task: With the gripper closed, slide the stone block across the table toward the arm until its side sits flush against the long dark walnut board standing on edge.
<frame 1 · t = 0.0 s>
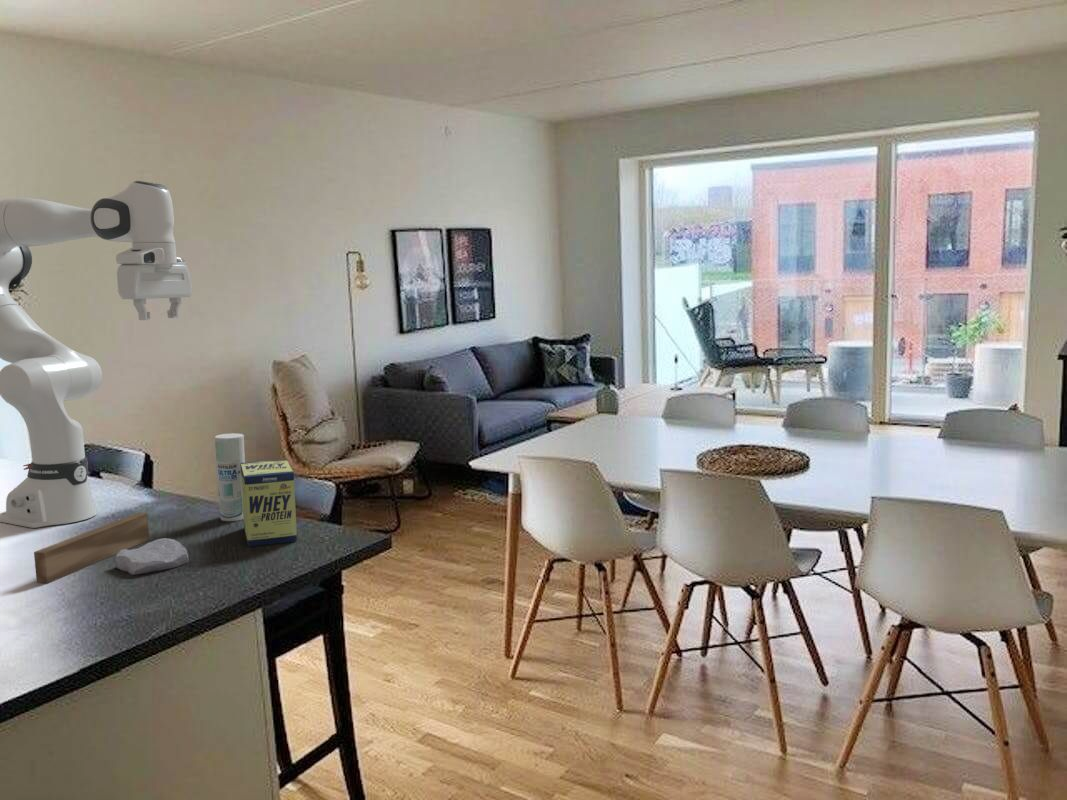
hand: (159, 319, 192), 48 cm above the countertop, tool pointing down, fingers open, 8 cm apart
spray can: (233, 518, 206), on the countertop
stone block: (155, 567, 173), on the countertop
walnut board: (97, 559, 176), on the countertop
protein box: (269, 535, 193), on the countertop
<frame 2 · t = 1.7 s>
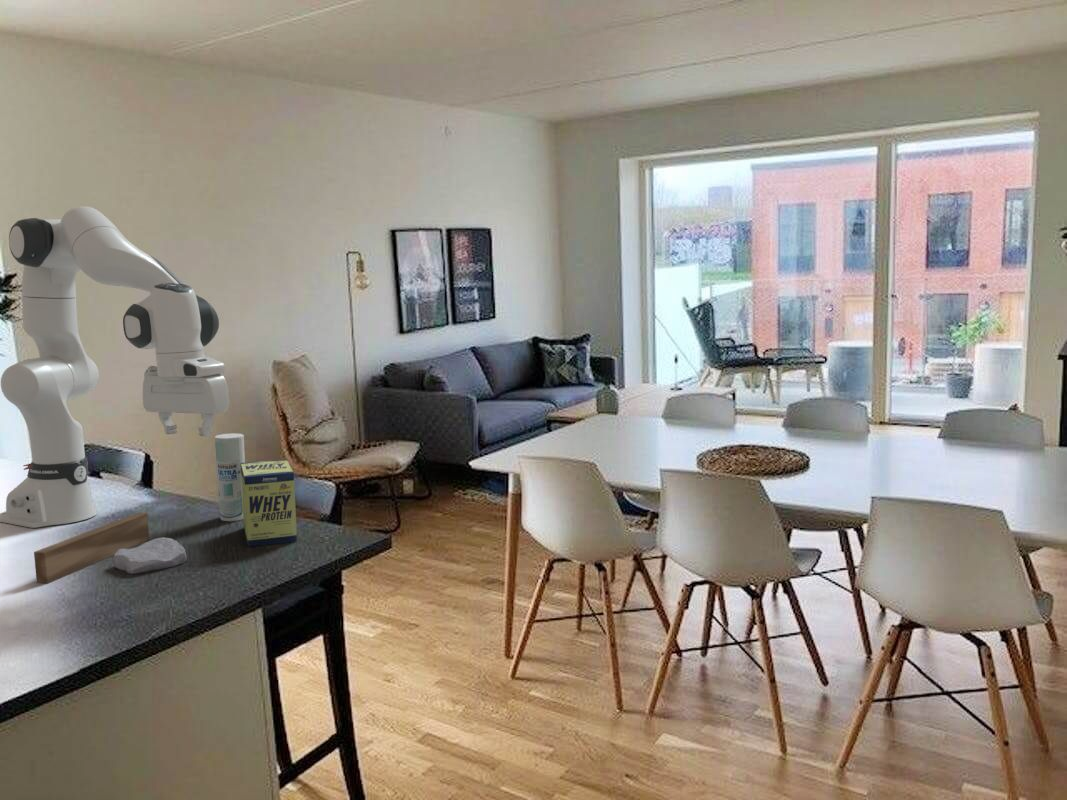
hand: (188, 434, 172), 26 cm above the countertop, tool pointing down, fingers open, 8 cm apart
nothing on the countertop moved.
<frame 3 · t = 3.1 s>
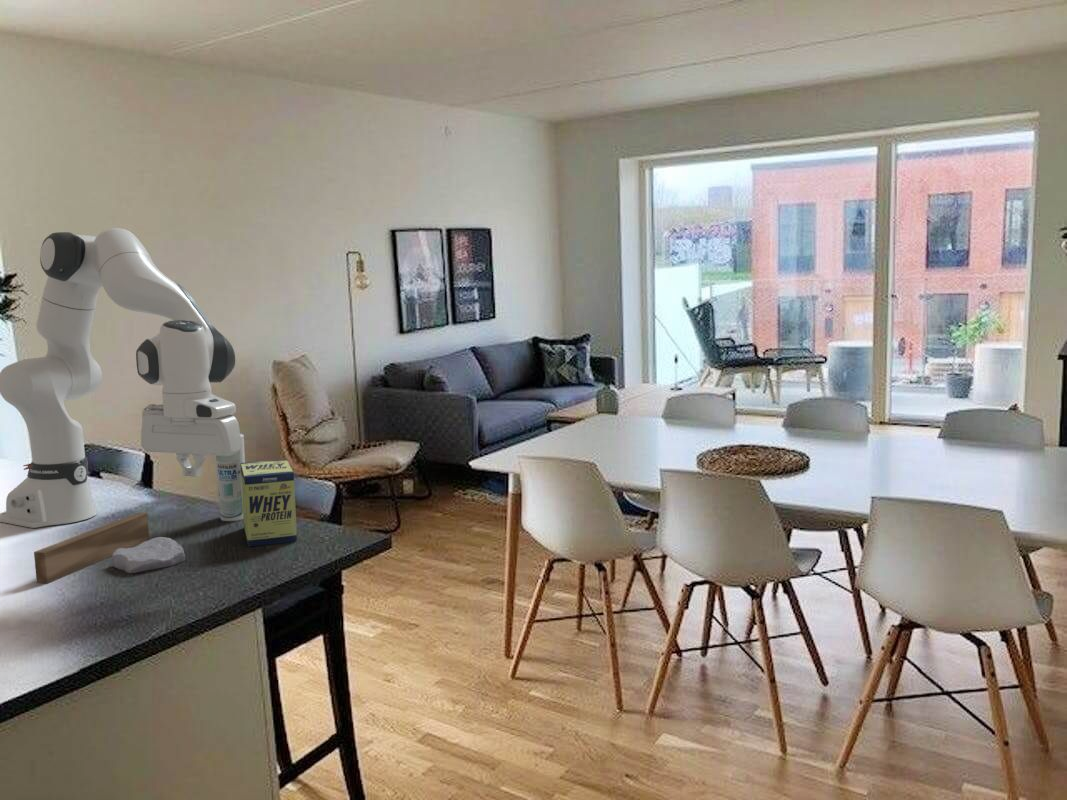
hand: (192, 475, 167), 19 cm above the countertop, tool pointing down, fingers closed
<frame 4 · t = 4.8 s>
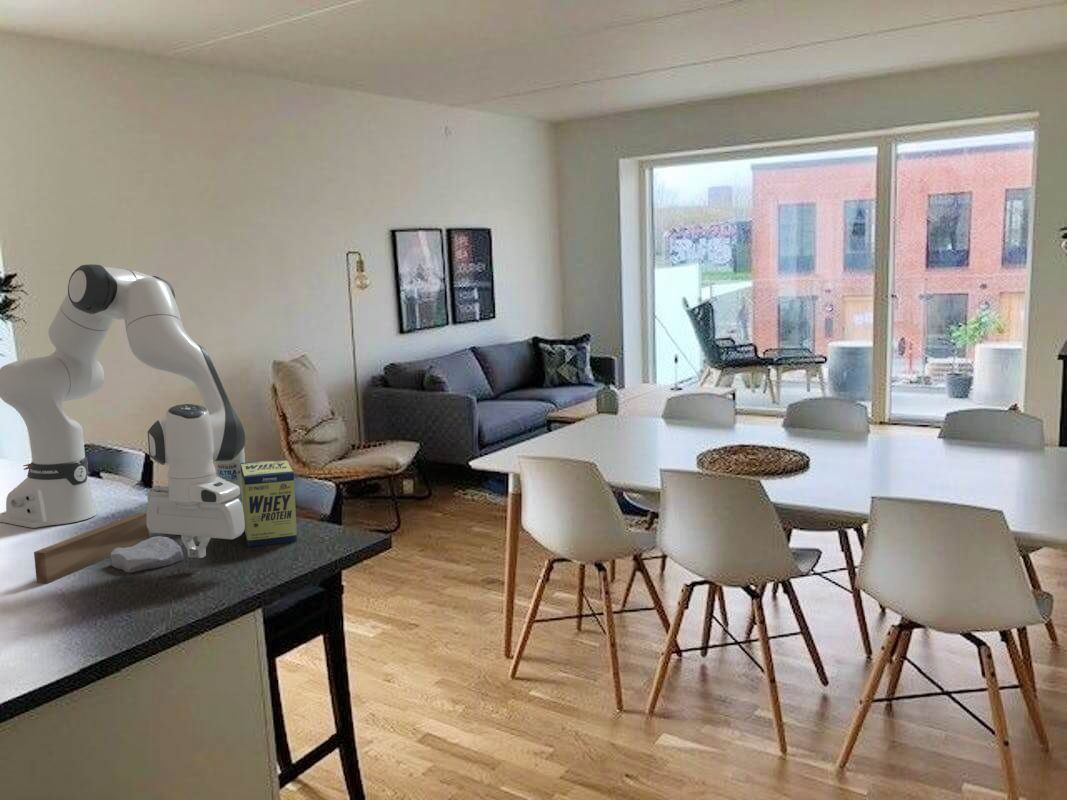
hand: (197, 556, 170), 3 cm above the countertop, tool pointing down, fingers closed
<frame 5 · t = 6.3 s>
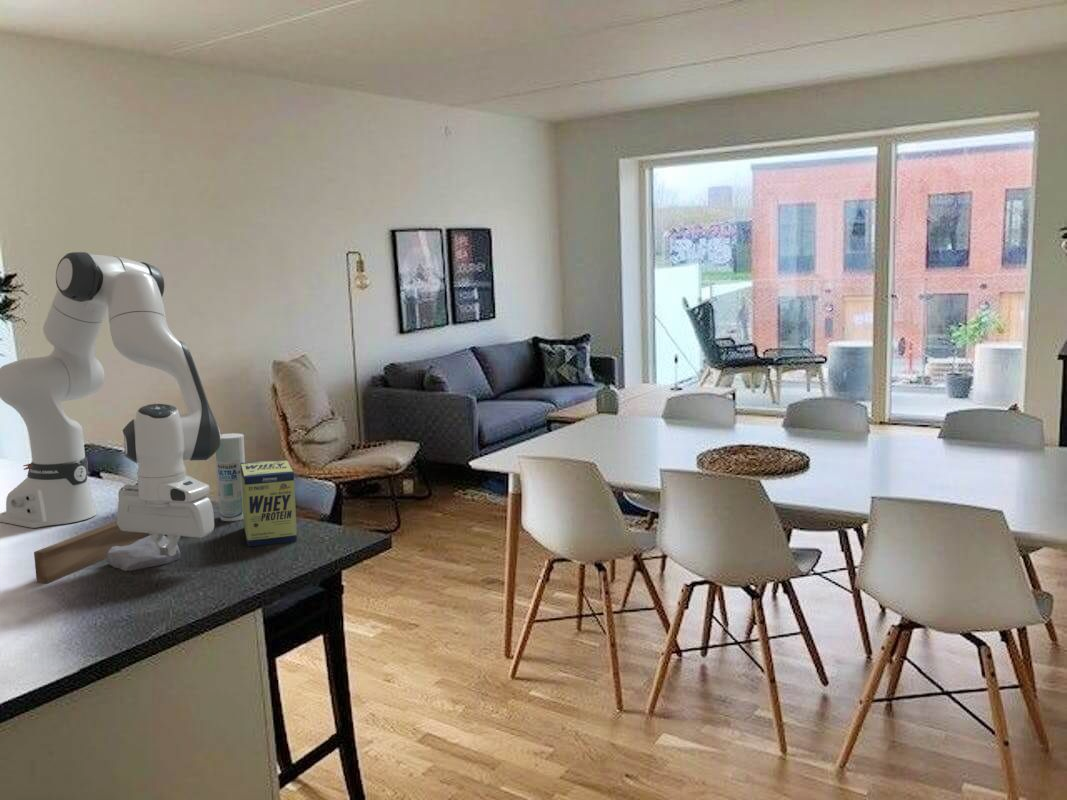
hand: (167, 554, 171), 2 cm above the countertop, tool pointing down, fingers closed
stone block: (146, 563, 175), on the countertop, touching gripper
everything else where it was.
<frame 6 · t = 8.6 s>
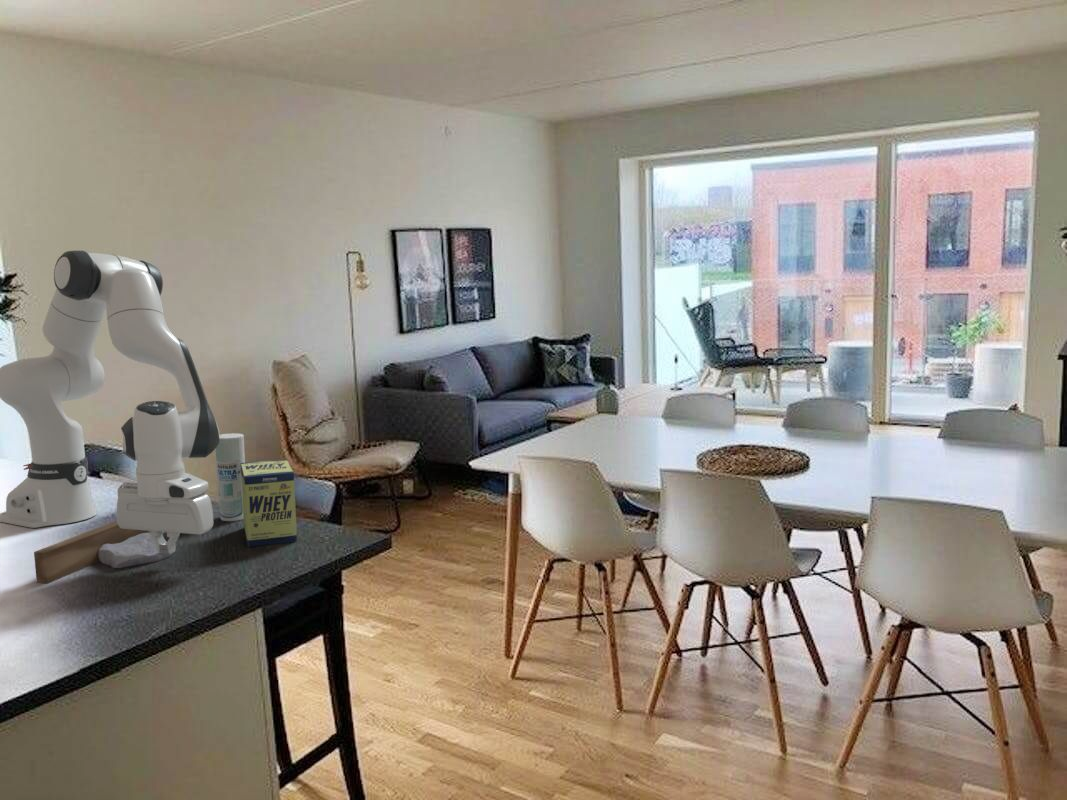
hand: (166, 552, 171), 3 cm above the countertop, tool pointing down, fingers closed
stone block: (137, 561, 177), on the countertop
everything else where it was.
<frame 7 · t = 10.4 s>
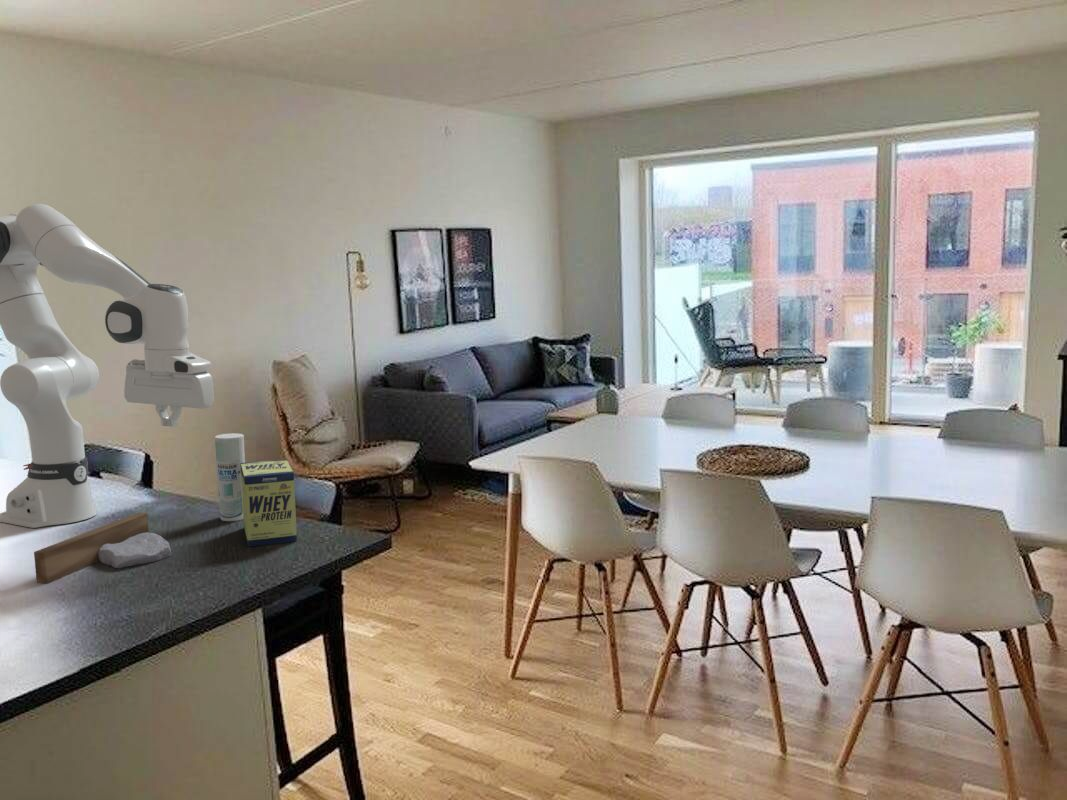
hand: (169, 425, 184), 26 cm above the countertop, tool pointing down, fingers closed
nothing on the countertop moved.
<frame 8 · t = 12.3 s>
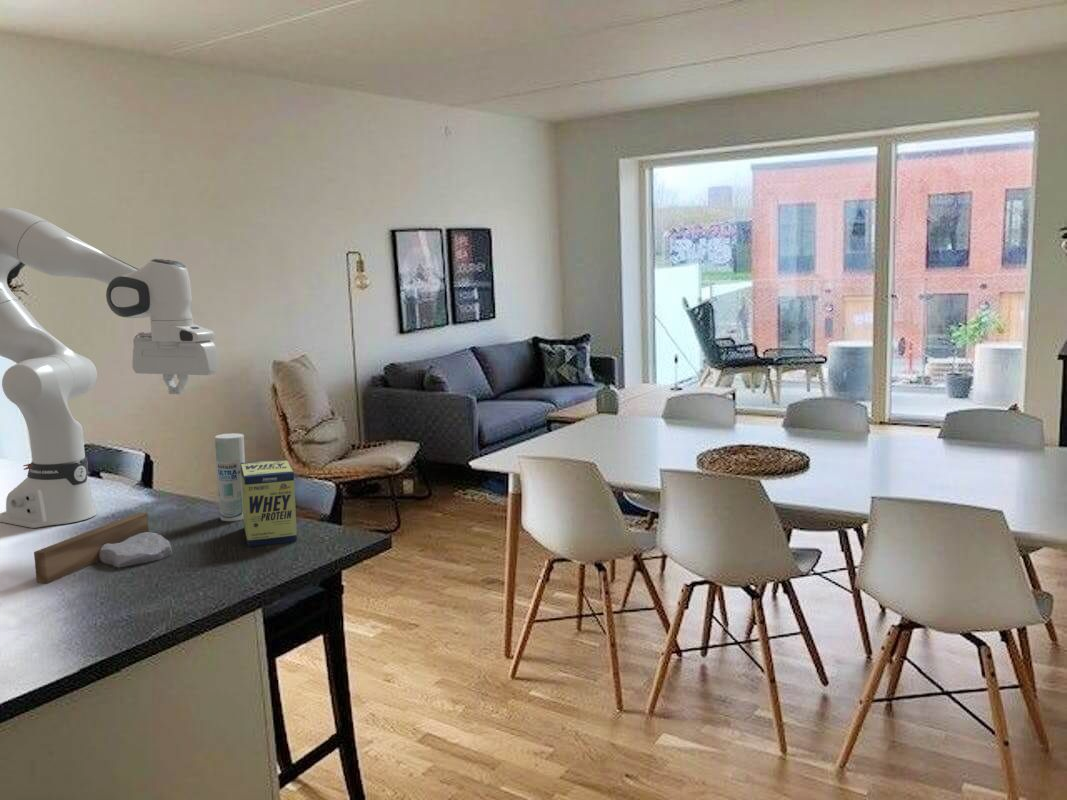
hand: (176, 394, 194), 31 cm above the countertop, tool pointing down, fingers closed
nothing on the countertop moved.
at the end: stone block touching countertop, walnut board; stone block inside the target area on the countertop beside the walnut board (3.0 cm from its centre), on the countertop; stone block tilted 0° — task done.
